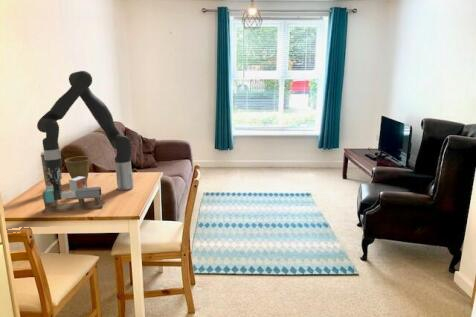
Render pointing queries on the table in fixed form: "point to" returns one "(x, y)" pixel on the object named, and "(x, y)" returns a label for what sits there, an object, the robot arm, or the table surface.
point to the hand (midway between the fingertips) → (57, 189)
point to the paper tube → (46, 173)
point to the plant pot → (78, 166)
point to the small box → (77, 183)
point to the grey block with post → (62, 193)
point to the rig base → (73, 205)
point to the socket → (48, 196)
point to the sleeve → (88, 193)
